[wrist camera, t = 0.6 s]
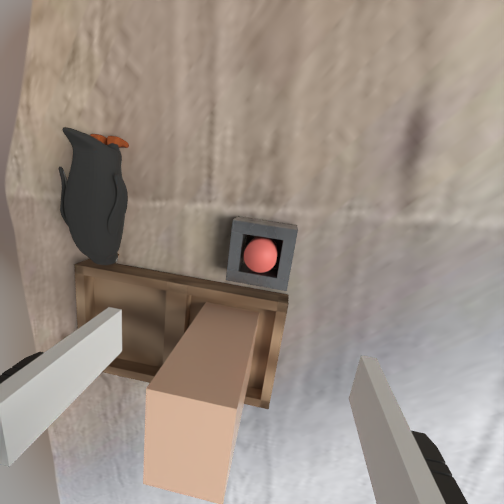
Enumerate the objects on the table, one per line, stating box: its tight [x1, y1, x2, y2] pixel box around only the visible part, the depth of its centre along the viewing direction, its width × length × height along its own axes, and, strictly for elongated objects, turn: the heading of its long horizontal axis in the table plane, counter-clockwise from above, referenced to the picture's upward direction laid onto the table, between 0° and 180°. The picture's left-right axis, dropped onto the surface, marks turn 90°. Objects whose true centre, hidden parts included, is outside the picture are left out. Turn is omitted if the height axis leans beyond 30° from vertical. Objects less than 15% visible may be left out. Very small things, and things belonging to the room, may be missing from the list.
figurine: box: [59, 127, 129, 265], centre depth 30 cm, size 7×10×15 cm
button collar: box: [226, 216, 298, 291], centre depth 31 cm, size 7×7×3 cm
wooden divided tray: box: [75, 259, 288, 409], centre depth 36 cm, size 15×27×3 cm, turn 82°
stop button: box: [244, 236, 278, 273], centre depth 31 cm, size 4×4×3 cm
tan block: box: [143, 302, 260, 504], centre depth 28 cm, size 10×7×15 cm
